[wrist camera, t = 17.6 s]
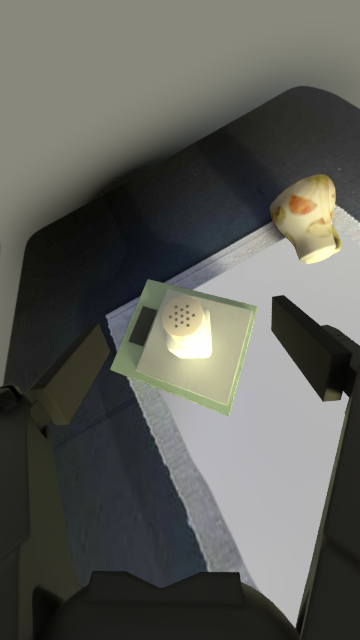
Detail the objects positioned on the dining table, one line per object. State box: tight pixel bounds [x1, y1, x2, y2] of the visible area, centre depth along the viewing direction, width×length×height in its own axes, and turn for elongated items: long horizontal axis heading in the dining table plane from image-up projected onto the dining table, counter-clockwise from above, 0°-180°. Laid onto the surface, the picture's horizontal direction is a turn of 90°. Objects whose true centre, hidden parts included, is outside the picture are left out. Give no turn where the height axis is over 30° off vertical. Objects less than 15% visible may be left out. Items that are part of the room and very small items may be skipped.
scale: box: [110, 279, 258, 416], centre depth 25 cm, size 15×13×3 cm
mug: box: [270, 174, 341, 264], centre depth 26 cm, size 8×10×10 cm
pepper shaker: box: [161, 296, 212, 358], centre depth 19 cm, size 4×4×10 cm
